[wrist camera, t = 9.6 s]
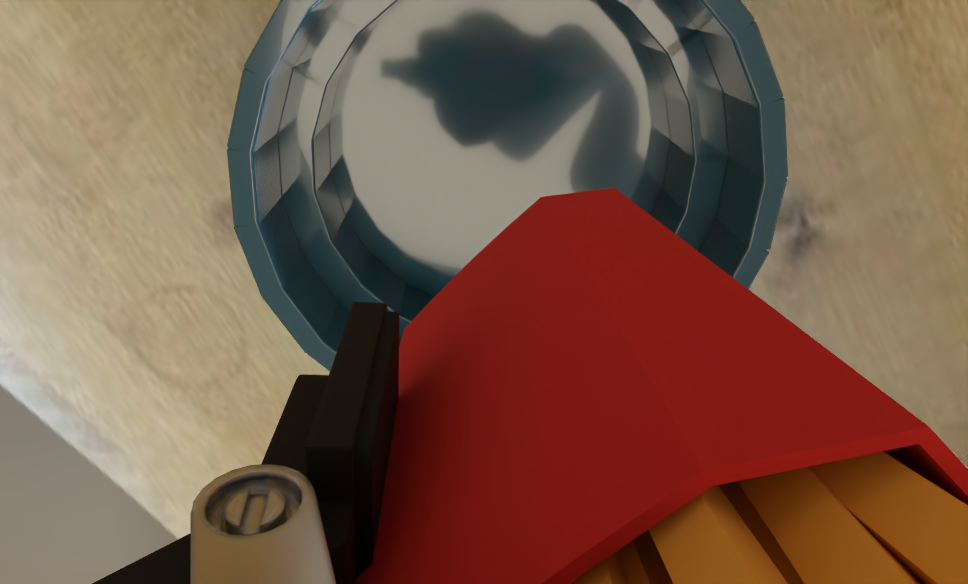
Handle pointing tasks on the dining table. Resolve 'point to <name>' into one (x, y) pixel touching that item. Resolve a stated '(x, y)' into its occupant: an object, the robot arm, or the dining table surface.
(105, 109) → the dining table surface
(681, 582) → the french fries
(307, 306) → the bowl
